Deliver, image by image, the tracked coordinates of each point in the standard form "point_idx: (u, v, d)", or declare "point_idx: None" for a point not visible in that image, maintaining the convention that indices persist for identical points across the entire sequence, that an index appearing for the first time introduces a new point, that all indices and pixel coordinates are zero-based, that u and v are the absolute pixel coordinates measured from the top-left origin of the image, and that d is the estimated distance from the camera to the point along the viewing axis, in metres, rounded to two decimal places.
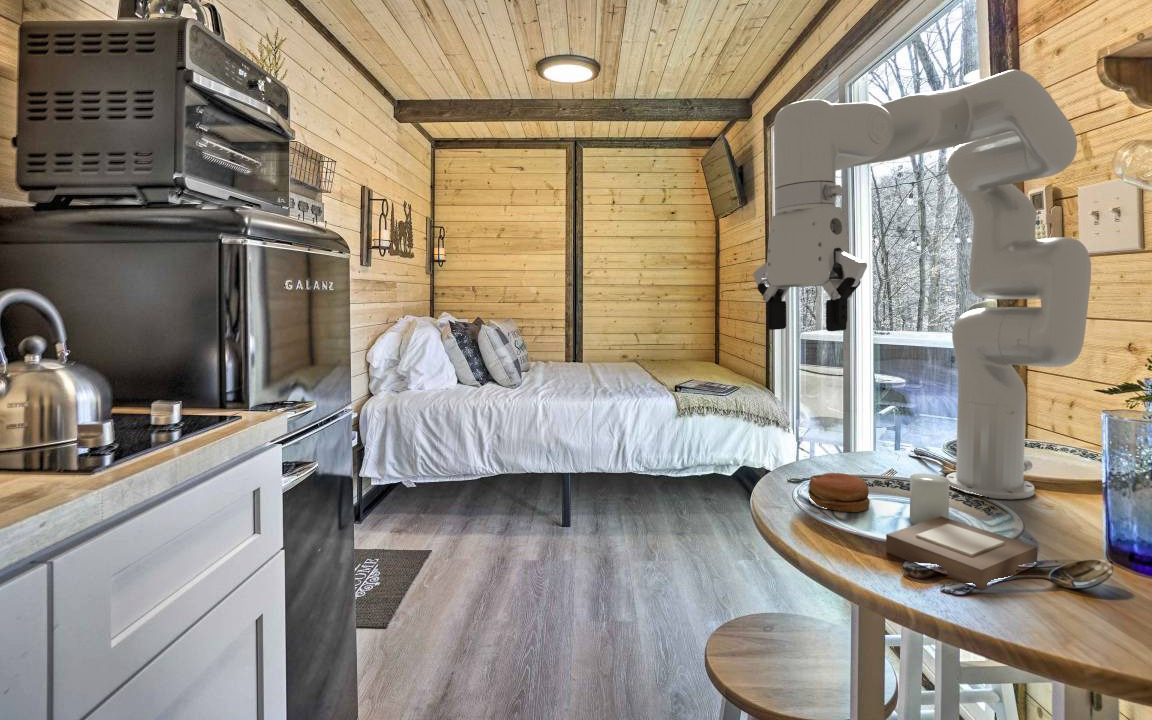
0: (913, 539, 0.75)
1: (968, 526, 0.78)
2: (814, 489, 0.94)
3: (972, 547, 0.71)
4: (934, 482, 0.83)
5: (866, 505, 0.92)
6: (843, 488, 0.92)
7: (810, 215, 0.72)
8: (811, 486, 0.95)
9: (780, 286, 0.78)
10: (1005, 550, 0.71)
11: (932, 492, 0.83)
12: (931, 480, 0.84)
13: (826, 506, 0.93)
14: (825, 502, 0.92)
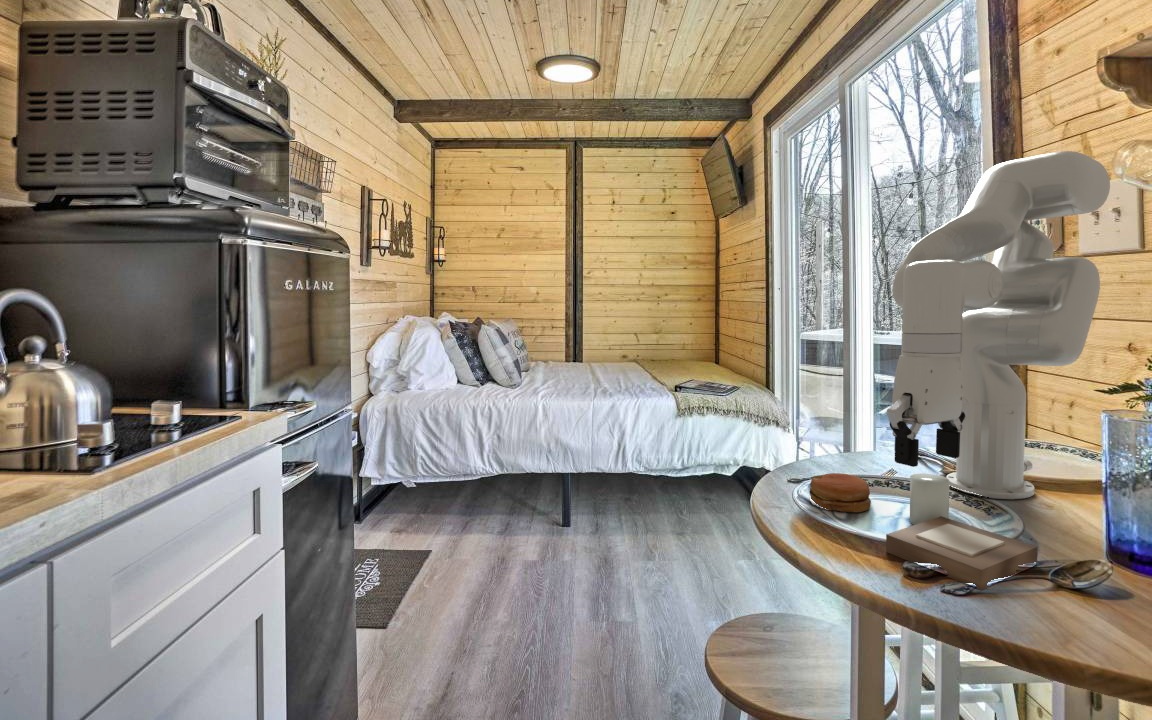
0: (913, 539, 0.75)
1: (968, 526, 0.78)
2: (815, 489, 0.94)
3: (972, 547, 0.71)
4: (934, 482, 0.83)
5: (867, 505, 0.92)
6: (844, 488, 0.92)
7: (957, 361, 0.82)
8: (812, 486, 0.95)
9: (929, 423, 0.81)
10: (1005, 550, 0.71)
11: (932, 492, 0.83)
12: (931, 480, 0.84)
13: (827, 506, 0.92)
14: (826, 502, 0.92)
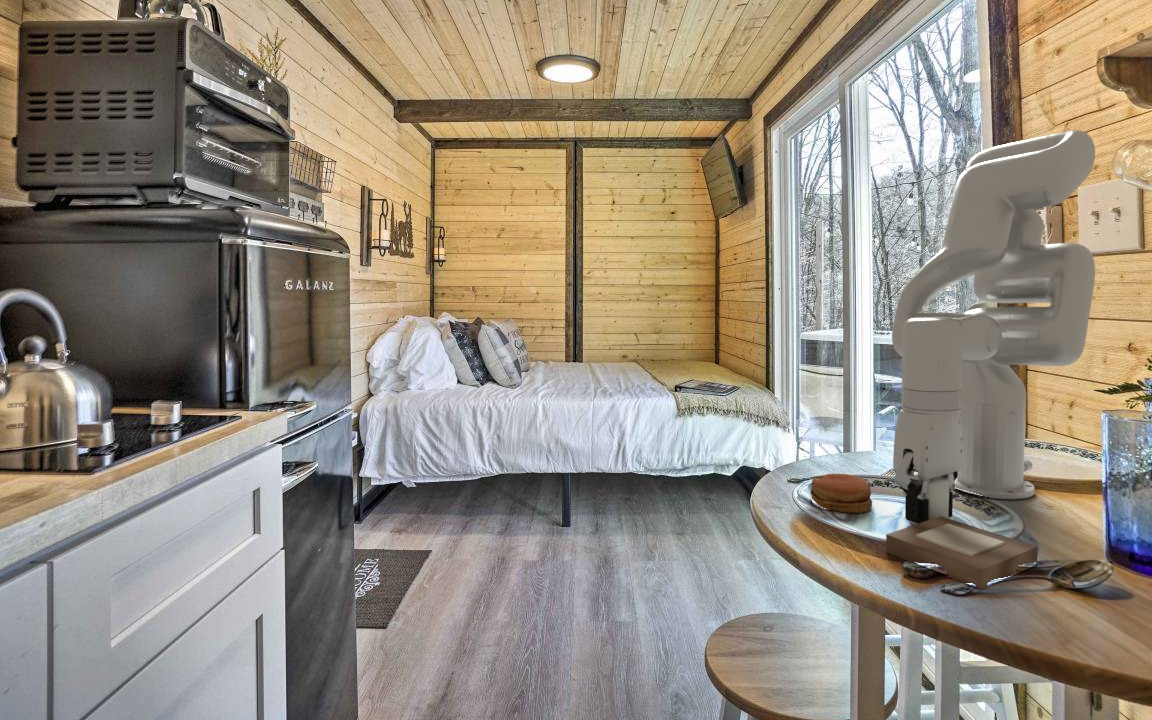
0: (913, 539, 0.75)
1: (968, 526, 0.78)
2: (816, 490, 0.94)
3: (972, 547, 0.71)
4: (934, 482, 0.83)
5: (868, 506, 0.91)
6: (845, 489, 0.91)
7: (957, 415, 0.83)
8: (813, 487, 0.95)
9: (930, 478, 0.82)
10: (1005, 550, 0.71)
11: (932, 492, 0.83)
12: (931, 480, 0.84)
13: (828, 507, 0.92)
14: (827, 502, 0.92)
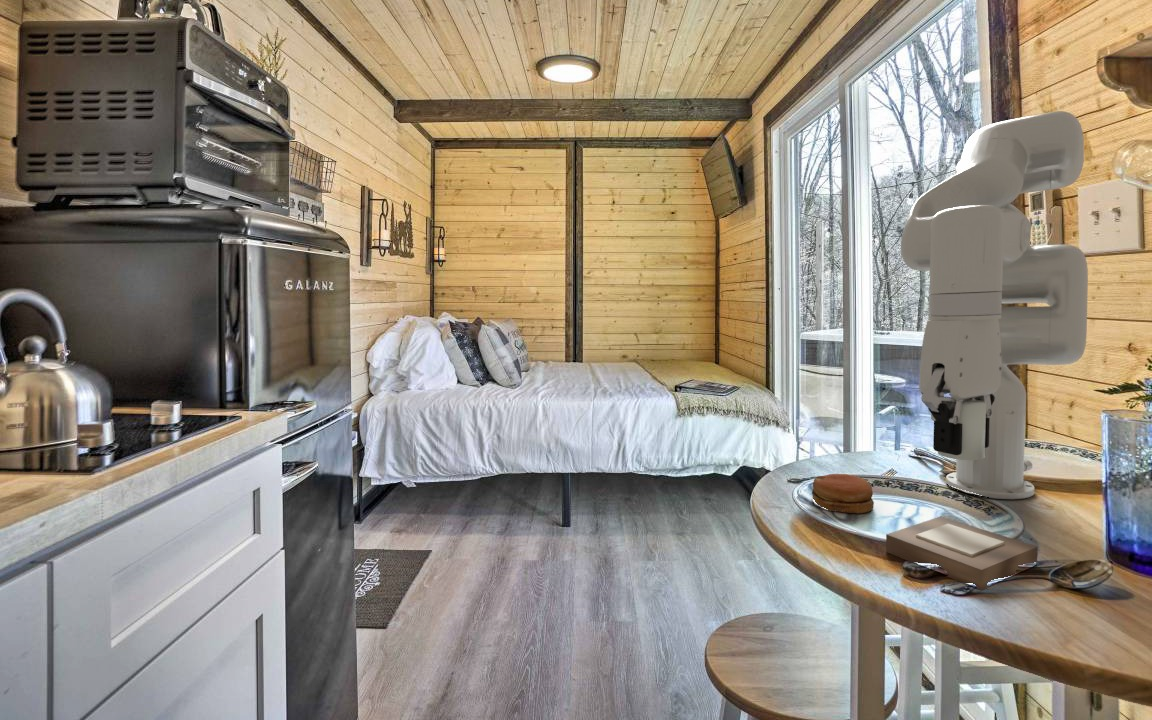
0: (913, 539, 0.75)
1: (968, 526, 0.78)
2: (817, 490, 0.94)
3: (972, 547, 0.71)
4: (968, 403, 0.70)
5: (870, 506, 0.91)
6: (846, 489, 0.91)
7: (996, 325, 0.70)
8: (814, 487, 0.95)
9: (964, 398, 0.69)
10: (1005, 550, 0.71)
11: (966, 414, 0.70)
12: (964, 402, 0.71)
13: (829, 507, 0.92)
14: (829, 503, 0.92)
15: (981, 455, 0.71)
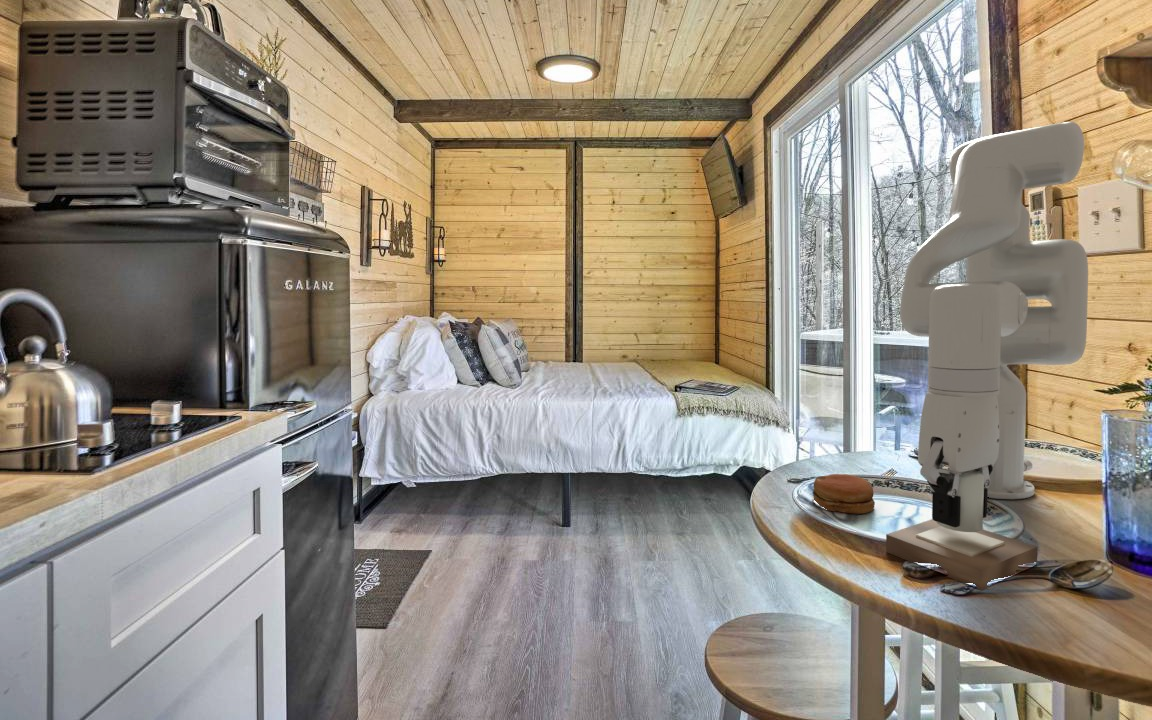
0: (913, 539, 0.75)
1: None
2: (818, 490, 0.94)
3: (972, 547, 0.71)
4: (966, 476, 0.71)
5: (871, 507, 0.91)
6: (847, 489, 0.91)
7: (994, 398, 0.71)
8: (815, 487, 0.95)
9: (962, 472, 0.70)
10: (1005, 550, 0.71)
11: (964, 487, 0.71)
12: (963, 474, 0.72)
13: (830, 507, 0.92)
14: (829, 503, 0.92)
15: (979, 527, 0.71)
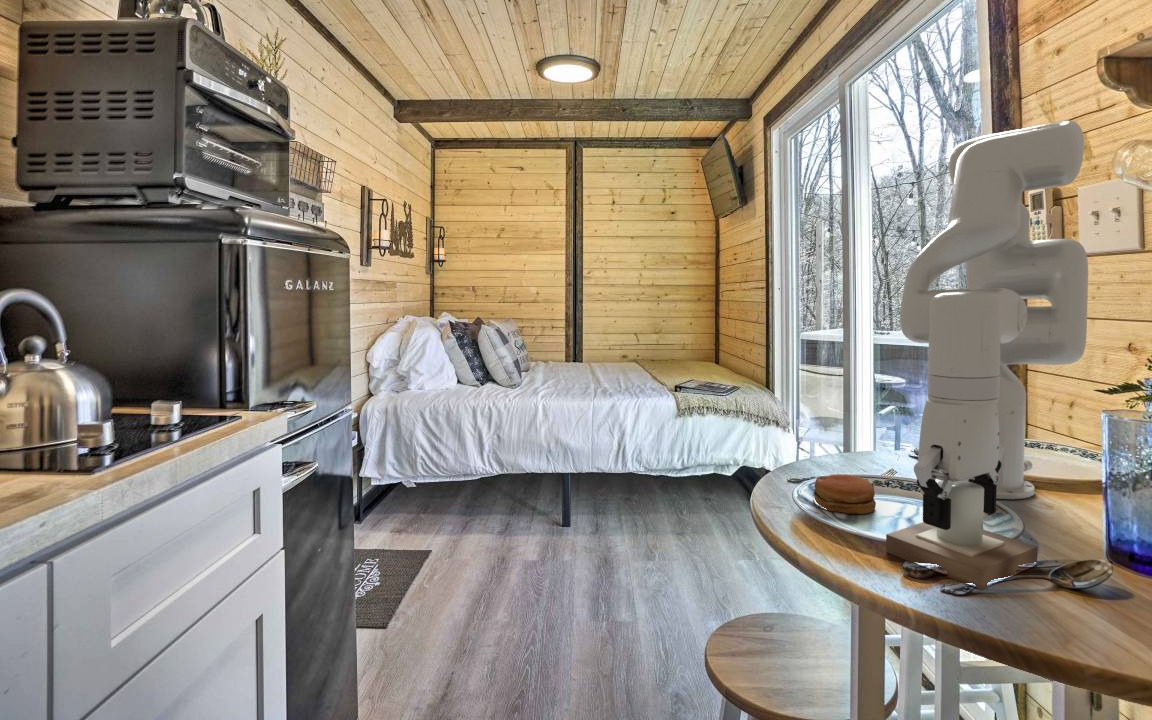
0: (913, 539, 0.75)
1: None
2: (819, 491, 0.94)
3: (972, 547, 0.71)
4: (966, 490, 0.72)
5: (872, 507, 0.91)
6: (848, 490, 0.91)
7: (994, 406, 0.71)
8: (816, 487, 0.95)
9: (962, 480, 0.70)
10: (1005, 550, 0.71)
11: (964, 501, 0.71)
12: (963, 487, 0.73)
13: (831, 508, 0.92)
14: (830, 503, 0.92)
15: (979, 541, 0.72)
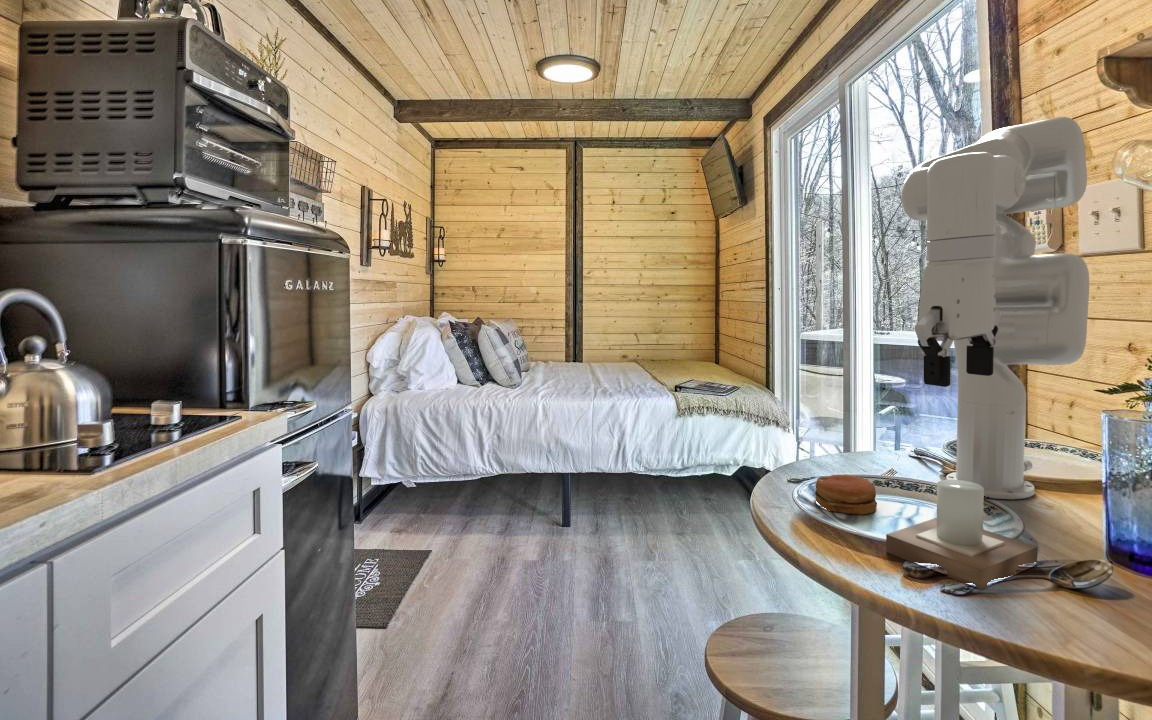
0: (913, 539, 0.75)
1: None
2: (820, 491, 0.94)
3: (972, 547, 0.71)
4: (966, 490, 0.72)
5: (873, 507, 0.91)
6: (849, 490, 0.91)
7: (990, 268, 0.74)
8: (817, 488, 0.94)
9: (961, 338, 0.74)
10: (1005, 550, 0.71)
11: (963, 502, 0.71)
12: (962, 488, 0.73)
13: (832, 508, 0.92)
14: (831, 504, 0.91)
15: (979, 540, 0.72)
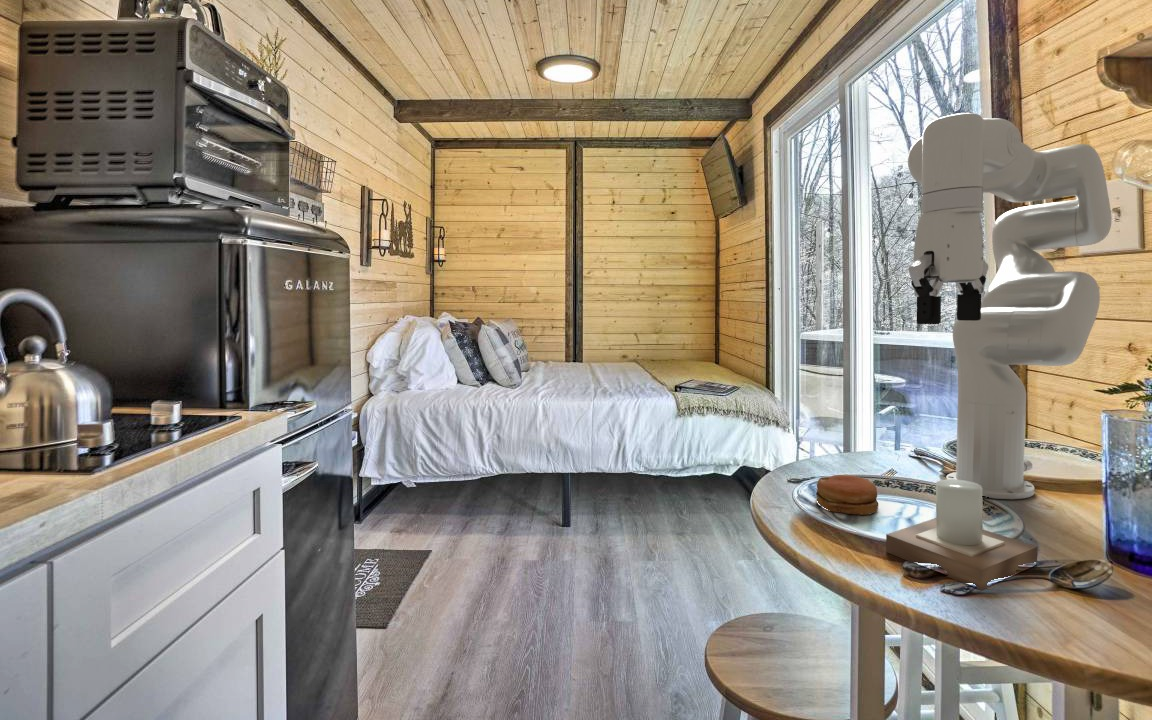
0: (913, 539, 0.75)
1: None
2: (821, 491, 0.93)
3: (972, 547, 0.71)
4: (964, 490, 0.72)
5: (874, 508, 0.90)
6: (850, 490, 0.91)
7: (978, 219, 0.82)
8: (819, 488, 0.94)
9: (951, 281, 0.81)
10: (1005, 550, 0.71)
11: (961, 501, 0.71)
12: (961, 487, 0.73)
13: (833, 508, 0.91)
14: (833, 504, 0.91)
15: (978, 540, 0.72)
